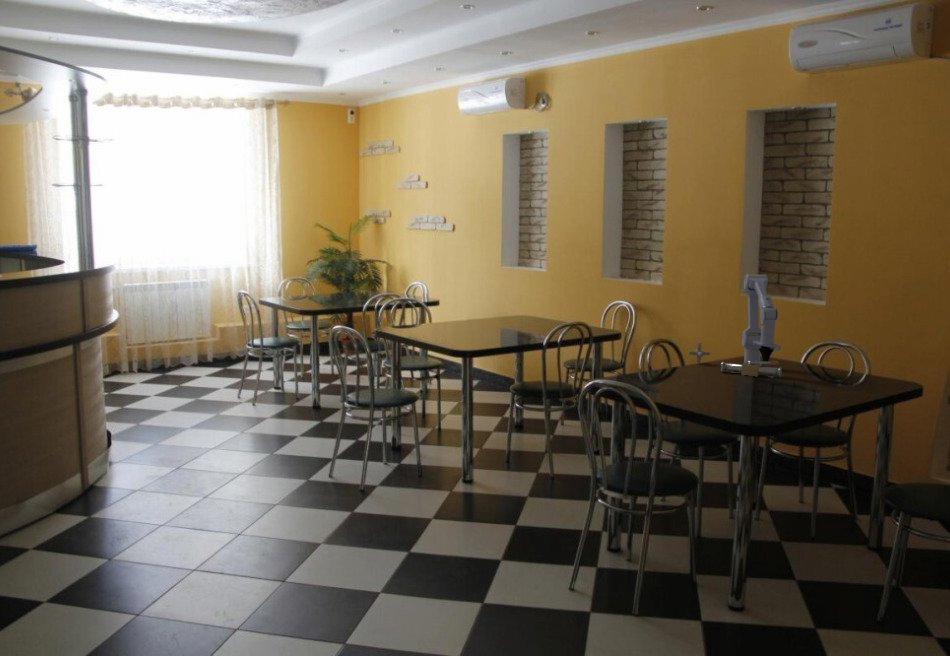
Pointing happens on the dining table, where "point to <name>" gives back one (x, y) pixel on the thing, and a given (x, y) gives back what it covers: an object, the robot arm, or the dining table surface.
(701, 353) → the pipe connector
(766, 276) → the robot arm
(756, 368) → the valve pipe
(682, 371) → the dining table surface
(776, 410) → the dining table surface
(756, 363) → the lever
